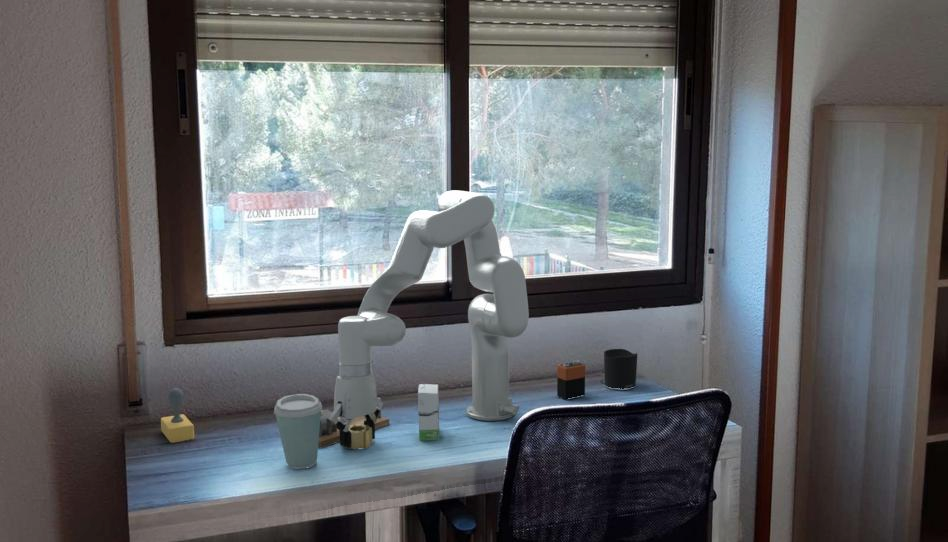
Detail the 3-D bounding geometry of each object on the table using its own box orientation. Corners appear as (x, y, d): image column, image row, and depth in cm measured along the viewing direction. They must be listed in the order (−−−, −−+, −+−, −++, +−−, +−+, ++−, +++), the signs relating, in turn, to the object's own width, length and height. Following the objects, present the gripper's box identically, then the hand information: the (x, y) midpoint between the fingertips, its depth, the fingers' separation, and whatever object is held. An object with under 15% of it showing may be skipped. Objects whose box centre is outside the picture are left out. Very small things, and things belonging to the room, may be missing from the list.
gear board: (389, 424, 237) (388, 398, 236) (321, 447, 221) (320, 420, 220) (354, 414, 246) (354, 389, 245) (286, 435, 230) (285, 409, 229)
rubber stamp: (194, 439, 228) (192, 391, 226) (170, 443, 225) (167, 395, 223) (184, 427, 237) (182, 381, 235) (161, 431, 234) (158, 385, 232)
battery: (585, 396, 260) (586, 361, 258) (566, 400, 256) (566, 365, 255) (575, 392, 263) (576, 358, 262) (556, 396, 260) (556, 361, 258)
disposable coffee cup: (329, 469, 207) (326, 403, 205) (280, 476, 204) (277, 409, 201) (319, 453, 217) (317, 390, 215) (272, 459, 214) (269, 396, 211)
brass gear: (378, 444, 223) (378, 427, 223) (356, 451, 218) (356, 435, 218) (358, 437, 228) (358, 421, 227) (337, 445, 223) (336, 428, 222)
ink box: (439, 440, 225) (438, 393, 224) (418, 441, 225) (417, 393, 223) (439, 428, 234) (438, 382, 232) (419, 429, 234) (418, 383, 232)
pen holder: (603, 390, 265) (603, 356, 264) (604, 381, 274) (604, 348, 273) (636, 392, 264) (637, 357, 262) (636, 382, 273) (637, 349, 271)
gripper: (372, 359, 229) (374, 429, 232) (316, 374, 216) (318, 448, 219) (393, 364, 224) (395, 436, 227) (337, 379, 211) (339, 455, 214)
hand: (357, 441), depth 223 cm, fingers closed on brass gear, 6 cm apart
